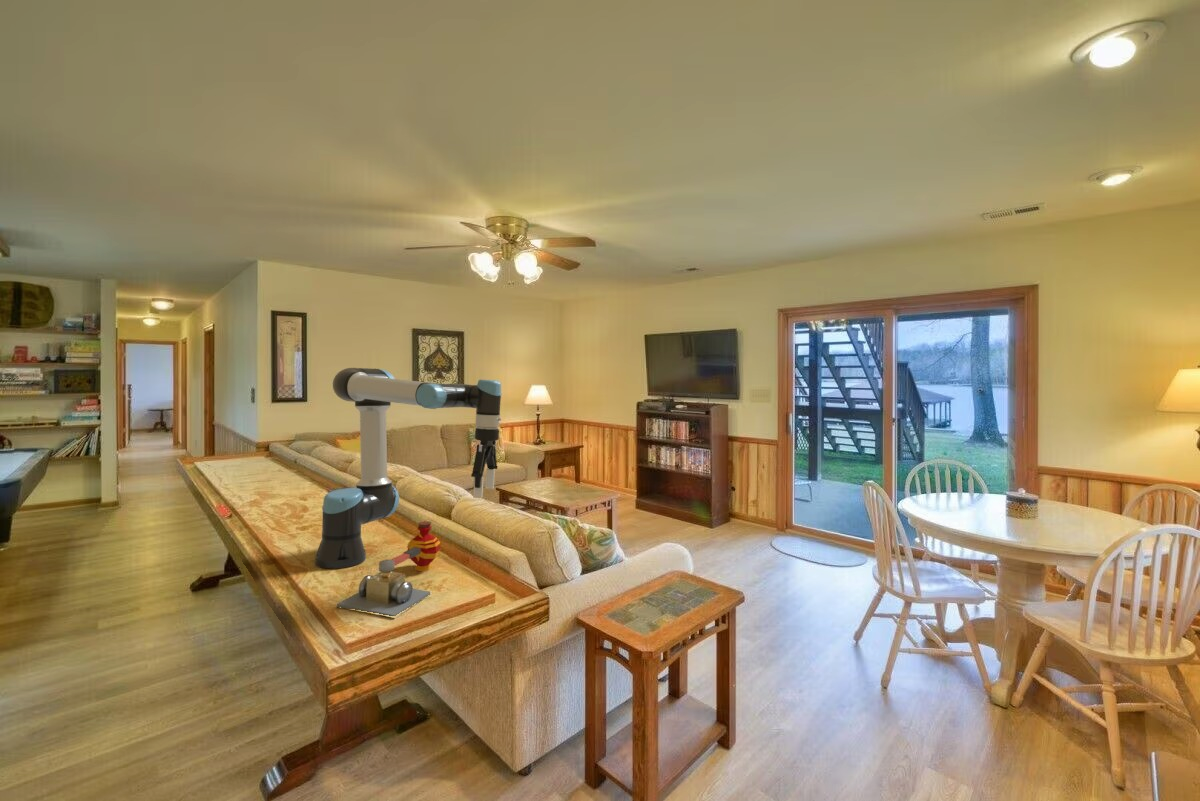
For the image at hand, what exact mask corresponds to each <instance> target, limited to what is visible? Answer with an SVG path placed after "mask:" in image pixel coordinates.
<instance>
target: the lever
mask: <svg viewBox="0 0 1200 801" xmlns="http://www.w3.org/2000/svg"><path fill="white" fill-rule="evenodd" d="M420 553H421V548H415V547H413V548H411V549H409V550H408V549H407V550H406V551H405V550H404V552H403V553H401V554H399V555H397V556H395V557H393V558H391V559H383V560H380V561H379V562H378V571H379V572H389V571H392V572H393V571H394V570H395V566H398V565H399V564H402V563H403V562H405V561H407V560H411V558H413V557H415V556H417V555H419V554H420Z"/></svg>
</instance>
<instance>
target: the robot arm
mask: <svg viewBox="0 0 1200 801" xmlns="http://www.w3.org/2000/svg"><path fill="white" fill-rule="evenodd" d="M332 389H333V392H334V393H335V395H336V396H337V397H338V398H340V400H343V401H345V402H350V403H351V402H354V407H355V408H356V409H357V411H359V430H360V431H359V433H360V434H359V435H360V438H359V440H360V442H359V443H360V479H359V480H358V481H357V482H356V487H346V488H337V489H334V490H332V491H329V492H327V494H326V495H325V496H324V497H323V503H322V504H323V505H322V508H321V509H322V520H321V521H322V526H321V528H322V530H321V540H320V544H319V545H318V549H317V553H316V554H315V555H314V556H315V557H314V565H315V566H316V567H319V568H322V569H344V568H350V567H354V566H357V565H359V564H362V563H363V562H364V561H366V559H367V558H366V556H367V552H366V549H365V548H364V547H365V546H364V542H363V540H362V525H365V524H369V523H371V522H376V521H380V520H384V519H386V518H387V517H390V516H392V515H393V514H394V513H395V512H396V510H397V509H398V506H399V505H400V504H399V503H400V495H399V491H398V490H397V488H396V487H395V486H394V485H393V480H391V479H390V478H389V477H388V455H387V454H388V448H387V447H388V444H387V443H388V440H387V437H388V436H387V410H389V409H390V408H391V403H394V404H395V403H396V404H403V405H409V406H410V405H411V406H419V407H422V408H424V409H431V410H436V409H443V408H444V409H446V408H448V409H449V408H471V409H476V410H475V412H476V413H475V422H474V423H475V427H476V428H475V430H474V439H475V440H476V441H480V443H479V444H476V451H475V456H474V461H473V462H474V463H473V468H472V473H471V474H470V476H471V477H472V478H473V494H472V495H473V496H472V497H473V498H474V499H483V494H484V488H485V489H487V490H489V489H491V490H494V488H495V475H496V474H495V471H496V470H498V462H497V461H498V460H497V448H496V444H497V443H496V442H497V441H498V440H499V438H500V437H499V436H500V430H499V427H500V422H501V421H502V418H501V417H500V416H501V414H500V411H501V401H502V383H501V381H499V380H495V379H493V380H491V379H478V381H477V384H466V383H458V382H457V383H455V382H454V383H437V382H436V383H435V382H426V381H416V380H409V379H408V380H407V379H400V378H399V379H398V378H395V376H394V375H393V374H392V373H391V372H390V371H388V370H386V369H380V368H366V367H365V368H363V367H347V368H344V369H342V370H340V371H338V372H337V373H336V374H335V376H334V377H333V381H332ZM485 467H487V468H486V470H485ZM484 471H485V487H484Z"/></svg>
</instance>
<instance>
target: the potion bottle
mask: <svg viewBox="0 0 1200 801" xmlns="http://www.w3.org/2000/svg"><path fill="white" fill-rule="evenodd" d="M417 524H418V527H417V530H418V531H419V532H418V533H417V535H416V536H414V537H412V538H411V540H409V542H408V544H407V546H406V548H407V550H409V549H411V548H413V547H415V548H421V553H420V554H419V555H417V556H415V557H413V558H411V559H410V560H411V562H412V563H414V564H415V567H414V570H416V571H419V572H420V571H421V572H424V571H428V570H430V569H431V568H432V566H431V563H432V562H433V561H434V560H435V559H437V557H439V555H440V552H441V551H440V544H441V542H440V541H441V540H439V539H438V538H437V536H435V535H434V534H430V530H432V528H433V527H432V522H431V521H427V520H424V521H419V522H418V523H417Z"/></svg>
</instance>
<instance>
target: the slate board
mask: <svg viewBox="0 0 1200 801" xmlns="http://www.w3.org/2000/svg"><path fill="white" fill-rule="evenodd" d="M428 595H430V596H431V591H429V590H424V589H419V588H418V589H417V588H413V591H412V595H411V598H410V599H409V600H408V601H407V602H404V603H402V604H398V603H397V602H396V600H395V601H393V602H391V603H390V604H388V605H387V604H382V603H377V602H372V601H366V596H365V597H361V596H360V595H359V591H358V592H356V593H354V594H353V595H350V596H349V597H347V598H345V599H343V600H341V601H339V602H337V604H336V608H337V607H341V608H340V609H342V608H347V609H355V610H361V611H367V612H373V613H379V614H383V615H389V616H396V615H397V614H399V613H400V612H402V611H404V610H406V609H407V608H409V607H411V606H412V605H414V604H415V603H417V602H418V601H420V600H422V599H424V598H425V597H427V596H428ZM428 597H429V596H428ZM428 597H427V598H428ZM425 599H426V598H425ZM425 599H424V600H425ZM422 601H423V600H422ZM347 609H346V610H347Z"/></svg>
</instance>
